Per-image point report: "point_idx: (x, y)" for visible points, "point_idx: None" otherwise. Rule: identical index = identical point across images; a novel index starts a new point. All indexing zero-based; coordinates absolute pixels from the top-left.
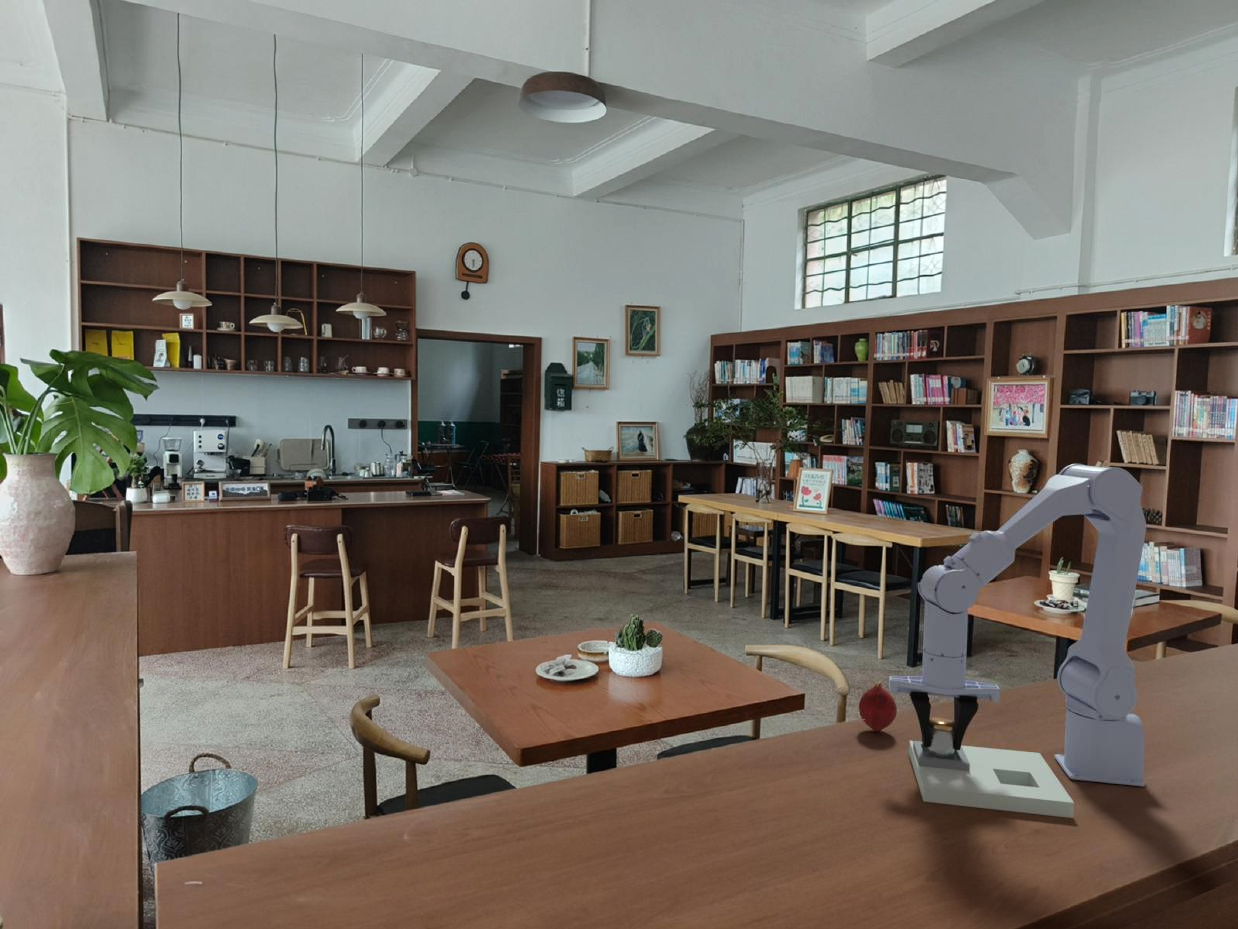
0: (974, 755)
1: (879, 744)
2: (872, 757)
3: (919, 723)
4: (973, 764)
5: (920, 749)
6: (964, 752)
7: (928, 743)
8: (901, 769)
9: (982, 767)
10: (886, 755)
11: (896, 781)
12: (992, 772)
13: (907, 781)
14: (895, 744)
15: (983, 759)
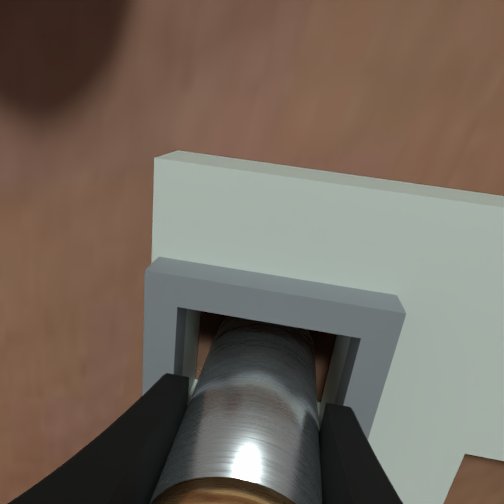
0: (454, 328)
1: (47, 38)
2: (19, 211)
3: (100, 434)
4: (394, 421)
5: (163, 373)
6: (416, 296)
7: None
8: (125, 314)
9: (422, 444)
10: (76, 182)
11: (98, 401)
12: (442, 483)
13: (134, 400)
14: (128, 21)
15: (477, 371)
